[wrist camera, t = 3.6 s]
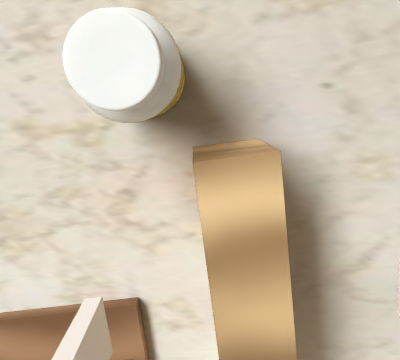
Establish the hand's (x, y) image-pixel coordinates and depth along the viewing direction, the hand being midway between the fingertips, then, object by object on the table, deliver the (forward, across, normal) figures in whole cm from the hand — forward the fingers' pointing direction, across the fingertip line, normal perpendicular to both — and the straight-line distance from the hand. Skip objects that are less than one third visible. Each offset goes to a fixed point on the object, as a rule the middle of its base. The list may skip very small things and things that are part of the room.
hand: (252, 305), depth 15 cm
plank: (+11, +1, -7) cm, 13 cm away
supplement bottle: (+11, -4, +11) cm, 16 cm away
